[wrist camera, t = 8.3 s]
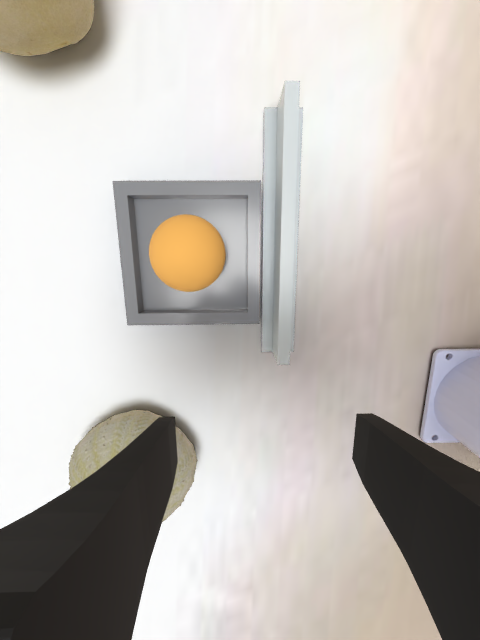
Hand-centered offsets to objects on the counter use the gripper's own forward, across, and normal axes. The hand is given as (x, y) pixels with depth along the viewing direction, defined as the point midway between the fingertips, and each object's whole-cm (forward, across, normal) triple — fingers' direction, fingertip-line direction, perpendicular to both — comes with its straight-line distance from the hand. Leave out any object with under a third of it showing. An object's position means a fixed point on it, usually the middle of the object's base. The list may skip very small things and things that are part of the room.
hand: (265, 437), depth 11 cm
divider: (+10, -2, -8) cm, 13 cm away
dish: (+10, +4, -7) cm, 13 cm away
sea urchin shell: (+11, +9, +9) cm, 17 cm away
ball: (+8, +4, -7) cm, 11 cm away
